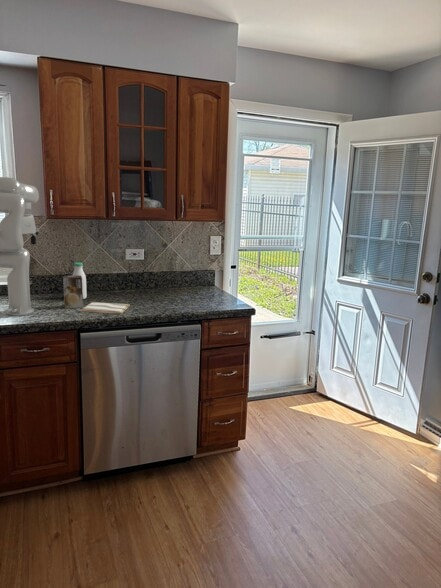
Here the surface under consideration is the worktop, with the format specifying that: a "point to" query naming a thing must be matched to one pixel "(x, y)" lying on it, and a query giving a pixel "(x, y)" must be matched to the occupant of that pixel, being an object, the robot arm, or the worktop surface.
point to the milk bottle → (79, 271)
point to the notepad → (105, 308)
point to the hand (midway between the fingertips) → (25, 244)
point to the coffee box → (73, 291)
